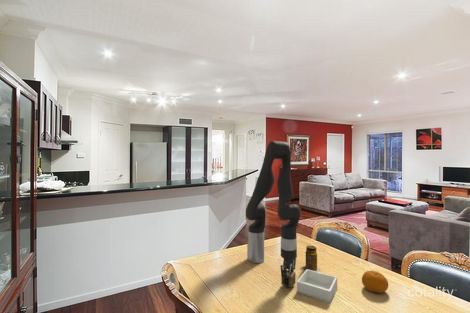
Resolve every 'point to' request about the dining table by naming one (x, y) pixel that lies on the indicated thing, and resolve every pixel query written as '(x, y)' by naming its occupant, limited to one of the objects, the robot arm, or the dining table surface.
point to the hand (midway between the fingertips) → (288, 282)
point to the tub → (317, 285)
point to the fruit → (374, 281)
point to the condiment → (311, 259)
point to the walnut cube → (291, 279)
